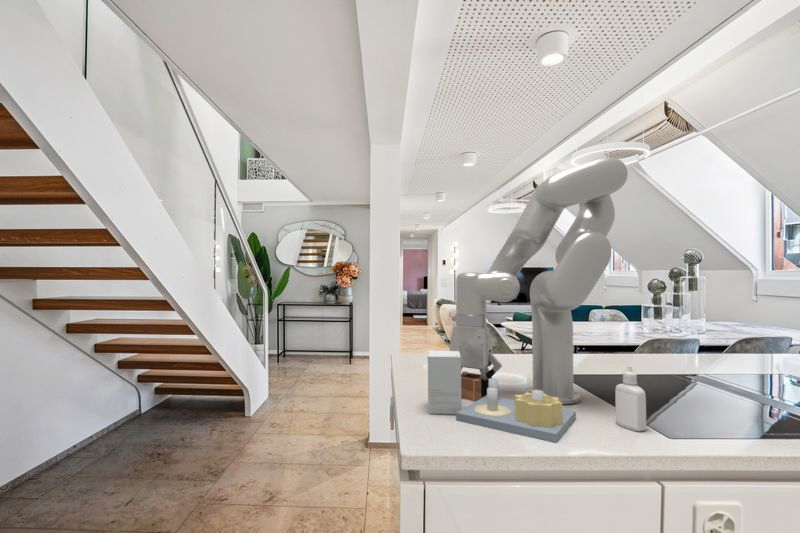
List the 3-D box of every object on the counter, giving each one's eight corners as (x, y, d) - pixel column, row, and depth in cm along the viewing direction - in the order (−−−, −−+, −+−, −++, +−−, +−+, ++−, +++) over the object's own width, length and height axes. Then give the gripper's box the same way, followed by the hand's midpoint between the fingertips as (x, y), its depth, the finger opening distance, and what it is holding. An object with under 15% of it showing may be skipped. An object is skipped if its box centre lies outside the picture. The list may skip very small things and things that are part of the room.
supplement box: (460, 405, 93) (460, 350, 94) (461, 415, 86) (461, 356, 87) (428, 403, 94) (428, 349, 95) (427, 414, 87) (427, 355, 87)
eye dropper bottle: (624, 431, 77) (623, 368, 78) (613, 421, 83) (612, 363, 83) (648, 432, 77) (647, 369, 77) (636, 422, 82) (635, 363, 83)
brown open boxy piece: (463, 389, 107) (463, 370, 107) (493, 395, 102) (493, 375, 102) (448, 397, 100) (448, 376, 100) (479, 403, 95) (479, 381, 95)
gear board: (486, 401, 96) (486, 372, 96) (575, 418, 85) (575, 384, 85) (456, 420, 83) (456, 385, 83) (556, 442, 72) (556, 403, 72)
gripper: (434, 320, 103) (433, 390, 103) (498, 324, 93) (498, 402, 93) (448, 318, 110) (447, 384, 109) (509, 322, 100) (510, 395, 99)
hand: (471, 392), depth 101 cm, fingers closed on brown open boxy piece, 6 cm apart
